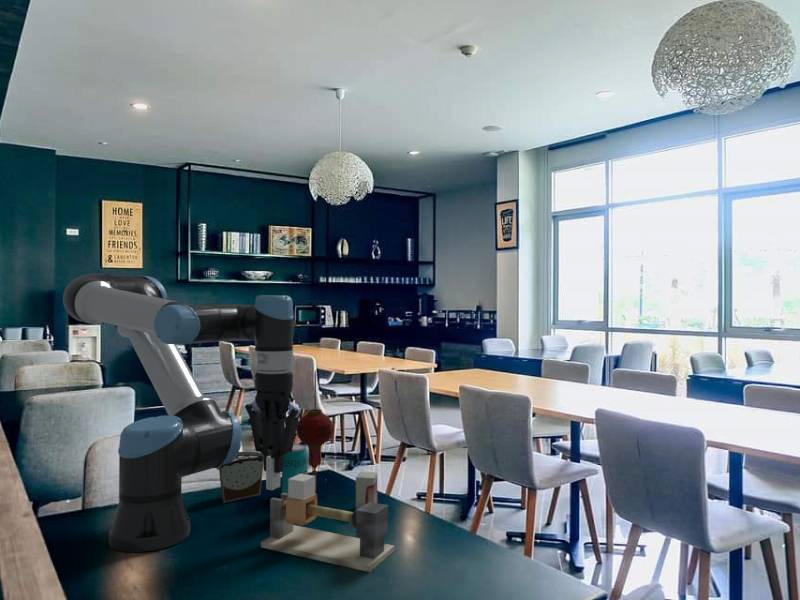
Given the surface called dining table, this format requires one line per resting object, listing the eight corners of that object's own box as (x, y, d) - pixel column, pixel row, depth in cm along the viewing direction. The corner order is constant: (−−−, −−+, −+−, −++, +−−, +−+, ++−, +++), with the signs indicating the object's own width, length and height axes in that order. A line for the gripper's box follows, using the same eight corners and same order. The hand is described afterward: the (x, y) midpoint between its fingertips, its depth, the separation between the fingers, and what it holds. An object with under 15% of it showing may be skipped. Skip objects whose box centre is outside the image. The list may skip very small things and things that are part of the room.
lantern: (320, 480, 158) (321, 368, 158) (340, 489, 151) (341, 371, 151) (288, 487, 152) (289, 370, 152) (308, 497, 145) (309, 374, 145)
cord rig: (260, 547, 115) (261, 498, 115) (291, 529, 124) (291, 484, 124) (369, 572, 105) (370, 518, 105) (394, 550, 114) (394, 501, 114)
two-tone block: (286, 522, 116) (286, 479, 116) (300, 514, 120) (300, 472, 120) (303, 525, 114) (303, 482, 114) (317, 517, 118) (317, 475, 118)
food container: (254, 487, 152) (254, 448, 152) (265, 493, 147) (266, 453, 147) (207, 497, 144) (208, 456, 144) (217, 504, 139) (218, 461, 139)
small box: (373, 513, 134) (374, 478, 134) (355, 512, 135) (355, 477, 135) (377, 505, 139) (377, 471, 139) (359, 504, 140) (359, 471, 140)
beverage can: (302, 519, 130) (302, 450, 130) (277, 517, 131) (277, 449, 131) (311, 510, 136) (311, 444, 136) (287, 508, 137) (287, 443, 137)
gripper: (236, 371, 119) (235, 488, 119) (289, 375, 114) (288, 498, 114) (260, 367, 126) (259, 478, 126) (311, 371, 121) (310, 487, 121)
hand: (273, 487), depth 120 cm, fingers closed
